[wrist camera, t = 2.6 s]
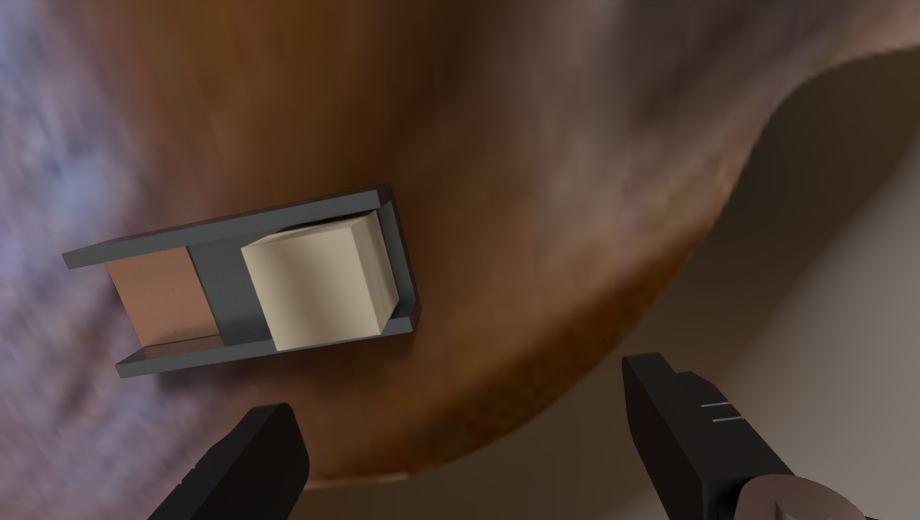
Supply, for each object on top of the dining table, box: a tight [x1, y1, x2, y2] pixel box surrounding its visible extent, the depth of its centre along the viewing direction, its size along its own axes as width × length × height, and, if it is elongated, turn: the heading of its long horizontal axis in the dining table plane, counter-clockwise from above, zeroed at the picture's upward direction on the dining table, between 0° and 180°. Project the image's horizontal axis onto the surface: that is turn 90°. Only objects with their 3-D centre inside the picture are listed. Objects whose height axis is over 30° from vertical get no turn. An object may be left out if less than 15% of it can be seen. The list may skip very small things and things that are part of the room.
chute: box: [62, 183, 422, 378], centre depth 28 cm, size 20×9×4 cm, turn 102°
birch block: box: [241, 210, 399, 351], centre depth 25 cm, size 6×6×5 cm
